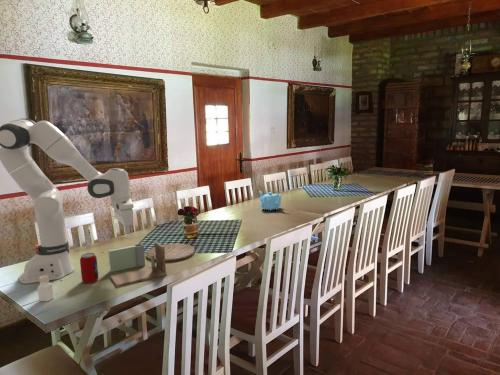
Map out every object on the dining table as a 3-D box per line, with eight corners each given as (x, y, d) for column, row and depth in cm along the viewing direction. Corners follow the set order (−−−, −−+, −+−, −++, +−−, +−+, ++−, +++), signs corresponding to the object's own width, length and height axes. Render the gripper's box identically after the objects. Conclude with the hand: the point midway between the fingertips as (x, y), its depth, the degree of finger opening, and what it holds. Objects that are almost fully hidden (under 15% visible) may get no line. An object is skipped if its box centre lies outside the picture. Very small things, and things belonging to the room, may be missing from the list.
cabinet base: (117, 287, 159) (114, 257, 157) (110, 277, 169) (107, 250, 167) (166, 275, 171) (165, 247, 168) (157, 266, 181) (156, 240, 178)
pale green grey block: (111, 272, 175) (109, 252, 173) (109, 270, 178) (107, 249, 176) (145, 265, 183) (143, 245, 182) (142, 262, 187) (141, 243, 185)
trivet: (201, 248, 207) (201, 245, 207) (181, 264, 183) (181, 261, 183) (161, 245, 214) (160, 242, 214) (136, 261, 190) (136, 257, 190)
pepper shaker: (47, 302, 147) (44, 279, 145) (38, 301, 148) (35, 278, 146) (54, 297, 151) (51, 275, 149) (45, 296, 151) (42, 274, 150)
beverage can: (101, 280, 166) (99, 254, 164) (86, 285, 162) (83, 258, 160) (94, 276, 171) (91, 251, 169) (79, 281, 166) (76, 255, 164)
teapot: (259, 207, 302) (259, 190, 300) (283, 207, 300) (283, 190, 298) (257, 212, 287) (256, 194, 284) (283, 212, 284) (282, 194, 282)
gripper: (109, 200, 182) (112, 227, 185) (120, 207, 165) (123, 237, 168) (122, 198, 185) (125, 225, 188) (134, 205, 168) (137, 234, 171)
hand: (124, 231), depth 178 cm, fingers open, 8 cm apart
